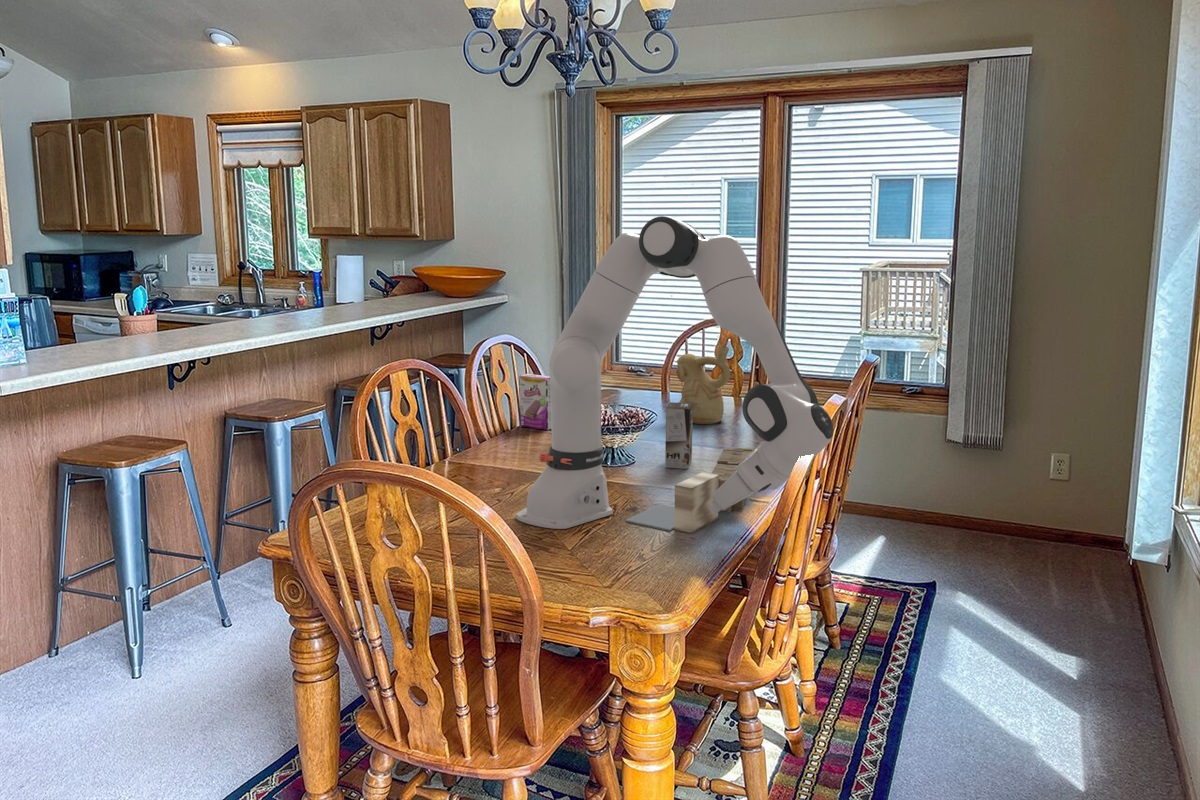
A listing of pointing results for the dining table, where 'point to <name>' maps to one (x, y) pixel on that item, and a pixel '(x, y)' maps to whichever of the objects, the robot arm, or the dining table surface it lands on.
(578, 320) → the robot arm
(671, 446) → the coffee box
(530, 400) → the candy bar box
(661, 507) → the mat
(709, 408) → the ceramic vessel
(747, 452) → the block tower
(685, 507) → the maple block
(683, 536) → the dining table surface
